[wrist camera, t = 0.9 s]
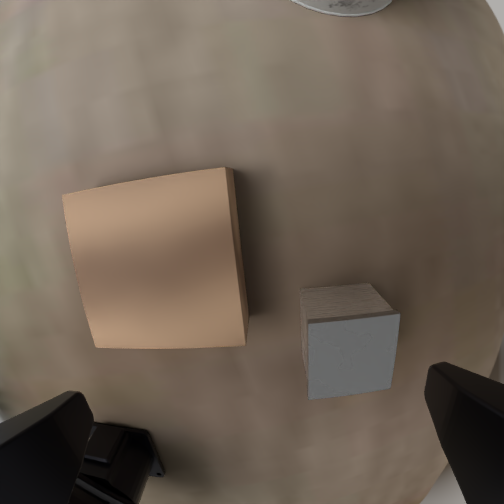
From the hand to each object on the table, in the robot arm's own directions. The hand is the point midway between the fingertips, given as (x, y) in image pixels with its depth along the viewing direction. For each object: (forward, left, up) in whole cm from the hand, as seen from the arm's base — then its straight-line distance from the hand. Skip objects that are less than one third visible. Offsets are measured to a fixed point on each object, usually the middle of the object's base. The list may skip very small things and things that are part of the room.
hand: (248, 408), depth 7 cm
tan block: (+1, +5, -13) cm, 14 cm away
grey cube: (-4, -5, -13) cm, 14 cm away
